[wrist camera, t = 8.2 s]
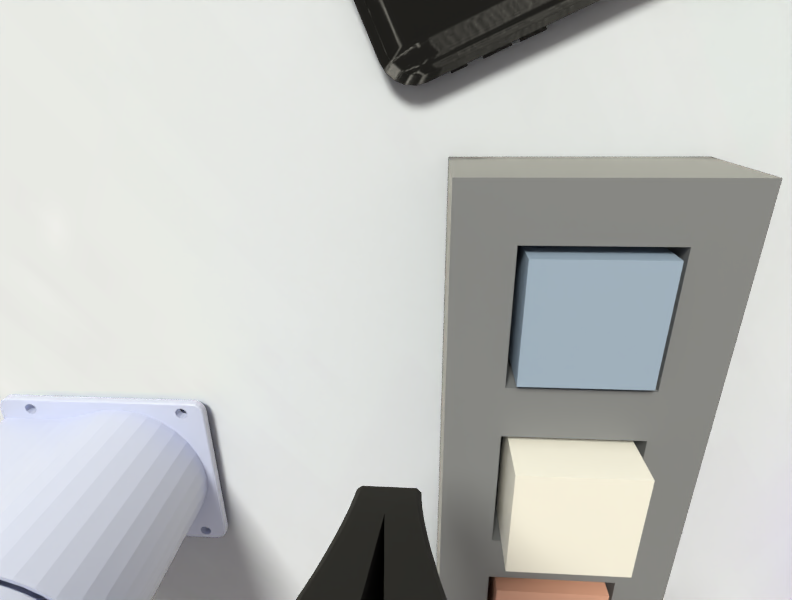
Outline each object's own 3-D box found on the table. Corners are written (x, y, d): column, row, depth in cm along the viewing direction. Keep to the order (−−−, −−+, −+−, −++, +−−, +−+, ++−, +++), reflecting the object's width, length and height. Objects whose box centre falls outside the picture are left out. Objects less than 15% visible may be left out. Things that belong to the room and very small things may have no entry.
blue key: (505, 343, 20) (516, 386, 17) (514, 230, 18) (528, 259, 15) (623, 345, 19) (655, 390, 17) (645, 231, 18) (683, 261, 15)
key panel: (435, 600, 28) (435, 681, 24) (448, 156, 18) (452, 177, 15) (608, 609, 27) (636, 693, 23) (710, 156, 18) (782, 178, 14)
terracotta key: (483, 596, 25) (490, 660, 23) (489, 530, 24) (496, 590, 21) (575, 601, 25) (593, 666, 22) (588, 534, 23) (609, 596, 21)
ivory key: (496, 507, 21) (505, 571, 19) (504, 419, 20) (515, 475, 17) (605, 511, 21) (631, 577, 18) (623, 423, 19) (654, 480, 17)
